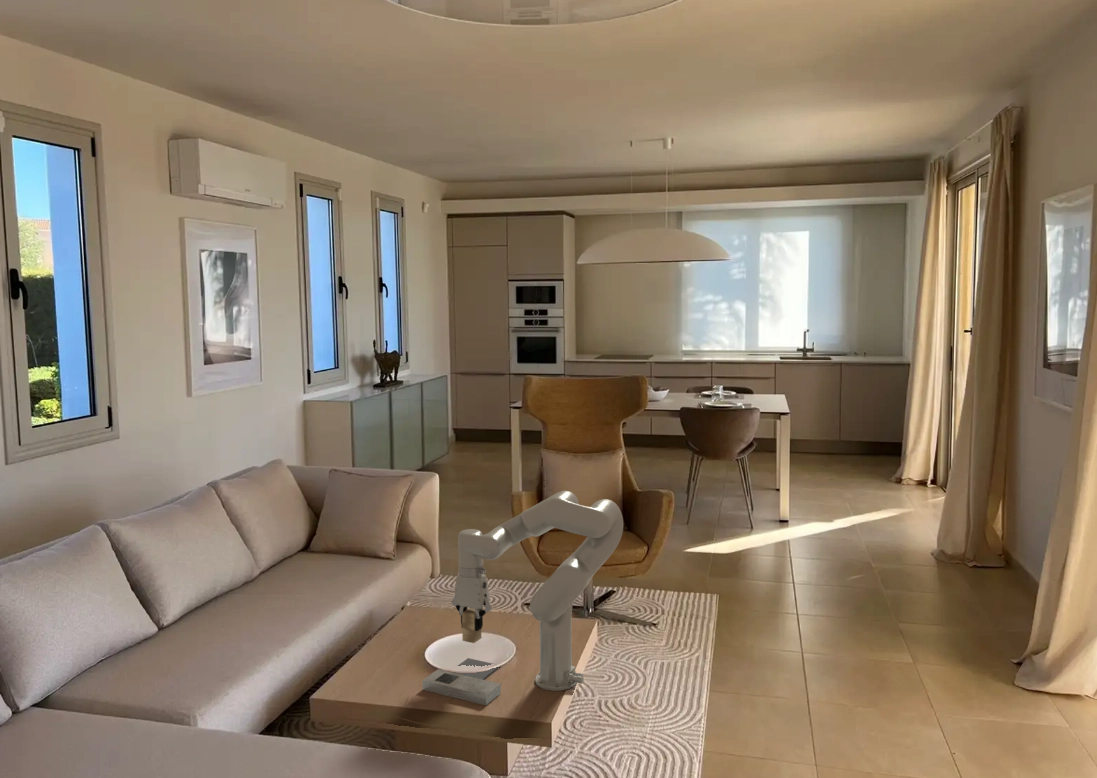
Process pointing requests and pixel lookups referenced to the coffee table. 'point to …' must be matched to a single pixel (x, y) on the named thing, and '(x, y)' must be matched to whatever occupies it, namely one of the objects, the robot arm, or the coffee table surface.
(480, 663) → the charcoal mat
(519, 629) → the coffee table surface
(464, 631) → the birch peg
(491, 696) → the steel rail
